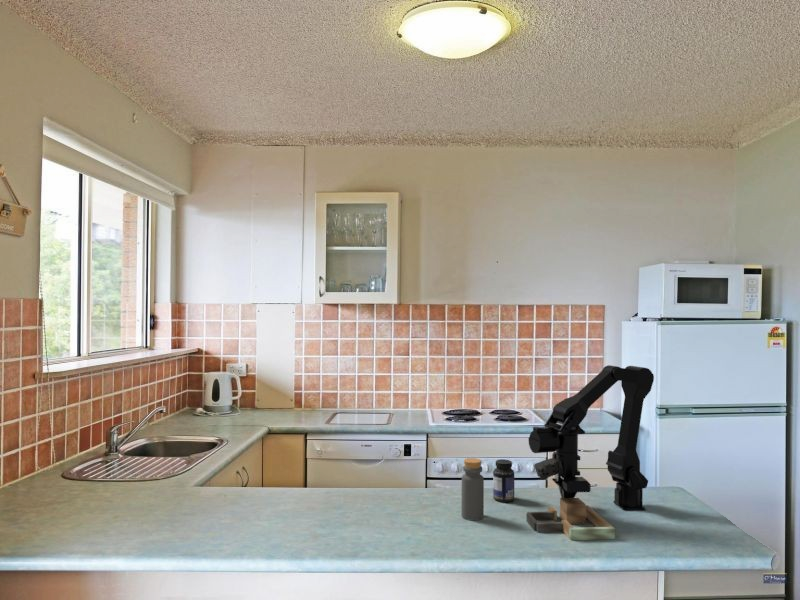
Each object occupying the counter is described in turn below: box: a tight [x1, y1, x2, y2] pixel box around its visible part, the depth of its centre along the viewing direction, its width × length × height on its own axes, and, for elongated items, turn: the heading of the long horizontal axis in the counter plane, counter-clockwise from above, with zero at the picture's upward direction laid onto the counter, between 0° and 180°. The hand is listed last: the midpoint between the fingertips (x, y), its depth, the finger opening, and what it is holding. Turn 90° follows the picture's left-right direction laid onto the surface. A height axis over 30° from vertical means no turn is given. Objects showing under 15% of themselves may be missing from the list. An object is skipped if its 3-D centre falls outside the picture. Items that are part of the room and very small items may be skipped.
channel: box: [525, 504, 616, 541], centre depth 145 cm, size 18×16×2 cm
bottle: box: [461, 457, 485, 521], centre depth 152 cm, size 6×6×15 cm
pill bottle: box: [492, 458, 515, 503], centre depth 166 cm, size 6×6×11 cm
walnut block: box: [559, 497, 587, 525], centre depth 150 cm, size 5×5×5 cm
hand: (566, 508), depth 154 cm, fingers closed
